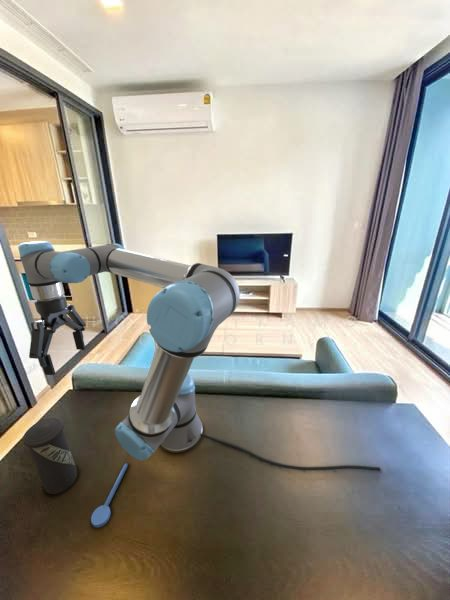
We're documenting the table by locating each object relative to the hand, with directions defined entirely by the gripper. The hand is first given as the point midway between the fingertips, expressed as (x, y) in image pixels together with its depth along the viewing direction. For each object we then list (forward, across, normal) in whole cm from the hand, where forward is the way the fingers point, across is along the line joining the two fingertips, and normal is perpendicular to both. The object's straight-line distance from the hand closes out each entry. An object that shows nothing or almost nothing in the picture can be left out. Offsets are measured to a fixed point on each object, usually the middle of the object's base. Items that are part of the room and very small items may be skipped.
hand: (67, 360), depth 78 cm
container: (+29, +17, +4) cm, 34 cm away
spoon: (+29, +19, +21) cm, 40 cm away
